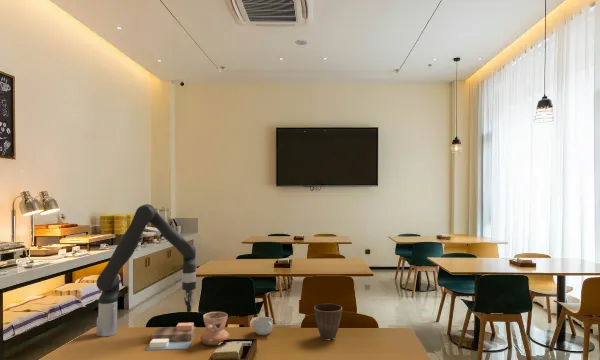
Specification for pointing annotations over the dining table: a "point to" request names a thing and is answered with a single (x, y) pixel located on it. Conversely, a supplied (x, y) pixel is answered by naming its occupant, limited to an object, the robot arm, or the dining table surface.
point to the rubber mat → (173, 346)
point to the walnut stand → (174, 334)
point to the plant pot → (328, 319)
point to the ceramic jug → (214, 328)
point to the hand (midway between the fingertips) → (189, 311)
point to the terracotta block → (184, 326)
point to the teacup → (262, 325)
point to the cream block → (159, 343)
